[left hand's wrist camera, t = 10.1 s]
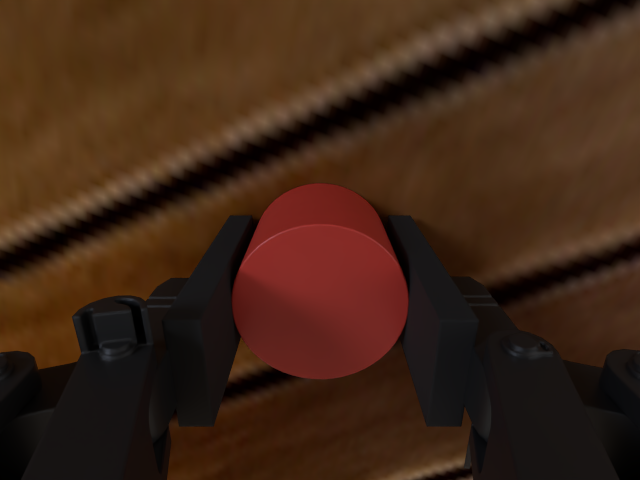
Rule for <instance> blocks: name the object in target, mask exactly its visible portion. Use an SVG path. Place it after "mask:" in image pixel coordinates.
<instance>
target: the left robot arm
mask: <svg viewBox="0 0 640 480" xmlns="http://www.w3.org/2000/svg"><path fill="white" fill-rule="evenodd" d="M387 236H388V238H389V240H390V243H391V245H392V247H393V250H394V252H395V255H396V257H397V259H398V262H399V264H400V266H401V269H402V271H403V273H404V276H405V279H406V282H407V286H408V291H409V306H408V316H407V320H406V324H405V326H404V328H403V331H402V333H401V335H400V336H399V337H400V340H401V344H402V347H403V350H404V353H405V357H406V360H407V363H408V366H409V370H410V373H411V376H412V380H413V383H414V386H415V389H416V393H417V396H418V399H419V402H420V406H421V409H422V412H423V415H424V419H425V422H426V425H427V426H461V425H462V419H463V413H464V407H465V408H466V410H467V412H468V414H469V417H470V419H471V421H472V425H471V431H470V436H469V442H468V448H467V453H466V459H465V465H464V468H467V469H470V464H472V473H473V480H640V351H638V350H637V351H636V350H627V349H622V350H615V351H612V352H611V353H609V354H608V355H607V356H606V359H605V363H604V366H603V368H600V367H595V366H590V365H585V364H579V363H574V362H570V361H566V360H562V359H561V357H560V355H559V353H558V352H557V350H556V349H555V348H554V347H553V345H552V344H550V343H549V342H547V341H546V340H544V339H543V338H541V337H539V336H536V335H534V334H531V333H529V332H524V331H520V330H518V329H517V327H516V326H515V325H514V324H513V322H512V321H511V320H510V318H509V317H508V316H507V315H506V313H505V312H504V311H503V310H502V308H501V307H500V306H498V303H497V302H496V301H495V299H494V298H492V297H491V294H490V293H489V292H488V291H487V289H486V288H485V287H484V285H482V284H480V283H479V282H477V281H475V280H474V279H472V278H471V277H450V275H449V274H448V272H447V271H446V269H445V268H444V266H443V265H442V263H441V262H440V260H439V259H438V257H437V256H436V254H435V253H434V251H433V250H432V248H431V246H430V245H429V243H428V242H427V240H426V239H425V237H424V236H423V234H422V233H421V231H420V230H419V228H418V227H417V225H416V224H415V222H414V221H413V219H412V217H411V216H388V229H387ZM252 237H253V223H252V216H230V217H229V218H228V220H227V221H226V223H225V224H224V226H223V227H222V229H221V230H220V232H219V233H218V235H217V236H216V238H215V239H214V241H213V243H212V244H211V246H210V247H209V249H208V250H207V252H206V253H205V255H204V256H203V258H202V259H201V261H200V262H199V264H198V265H197V267H196V268H195V270H194V272H193V273H192V275H191V276H190V278H171V279H169V280H167V281H166V282H164V283H162V284H161V285H159V286H158V287H157V288H156V289H155V290H154V291H153V293H152V294H151V295H150V297H149V299H147V300H146V301H144V300H143V299H142V298H140V297H135V296H114V297H109V298H104V299H101V300H98V301H95V302H92V303H90V304H88V305H86V306H85V307H83V308H81V309H79V310H78V311H77V312H76V313H75V314H74V315H73V316H72V319H73V323H74V326H75V330H76V334H77V338H78V342H79V346H80V349H81V356H80V358H79V360H78V362H74V363H70V364H65V365H60V366H55V367H50V368H45V369H39V370H38V367H37V364H36V361H35V358H34V357H33V356H32V355H31V354H29V353H28V352H21V351H12V352H2V353H0V480H167V474H168V465H169V456H170V448H171V437H170V431H169V425H168V424H169V422H170V420H171V417H172V415H173V413H174V411H175V408H176V410H177V416H178V422H179V426H214V423H215V420H216V417H217V413H218V410H219V407H220V404H221V400H222V397H223V394H224V391H225V387H226V384H227V381H228V377H229V374H230V371H231V368H232V364H233V361H234V358H235V355H236V351H237V348H238V345H239V341H240V338H241V335H240V334H239V332H238V330H237V327H236V325H235V322H234V318H233V312H232V300H231V296H232V288H233V284H234V280H235V277H236V275H237V272H238V270H239V268H240V265H241V263H242V261H243V258H244V256H245V254H246V251H247V249H248V247H249V244H250V242H251V239H252Z"/></svg>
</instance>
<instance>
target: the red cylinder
mask: <svg viewBox="0 0 640 480" xmlns="http://www.w3.org/2000/svg"><path fill="white" fill-rule="evenodd" d="M231 300H232V312H233V318H234V322H235V325H236V327H237V330H238V332H239V334H240V335H241V337H242V339H243V341H244V342H245V343H246V345H247V346H248V347H249V348H250V349H251V351H252V352H253V353H254V354H255V355H256V356H258V357H259V358H260V359H261V360H263V361H264V362H265V363H267V364H269V365H270V366H272V367H274V368H276V369H278V370H280V371H282V372H285V373H287V374H290V375H294V376H298V377H302V378H310V379H330V378H338V377H343V376H347V375H350V374H353V373H356V372H358V371H361V370H363V369H365V368H367V367H369V366H370V365H372V364H374V363H375V362H377V361H378V360H379V359H380V358H382V357H383V356H384V355H385V354H386V353H387V352H388V351H389V350H390V349H391V348H392V347H393V345H394V344H395V343H396V341H397V340H398V338H399V336H400V335H401V333H402V331H403V328H404V326H405V324H406V320H407V316H408V306H409V291H408V286H407V282H406V279H405V276H404V273H403V271H402V269H401V266H400V264H399V262H398V259H397V257H396V255H395V252H394V250H393V247H392V245H391V243H390V240H389V238H388V236H387V233H386V231H385V229H384V226H383V224H382V222H381V220H380V218H379V216H378V214H377V213H376V211H375V210H374V208H373V207H372V206H371V205H370V204H369V203H368V202H367V201H366V200H365V199H364V198H362V197H361V196H360V195H358V194H356V193H355V192H353V191H351V190H349V189H347V188H344V187H341V186H337V185H333V184H323V183H316V184H307V185H303V186H299V187H297V188H294V189H291V190H289V191H288V192H286V193H284V194H282V195H281V196H280V197H278V198H277V199H276V200H275V201H273V202H272V203H271V204H270V205H269V207H268V208H267V209H266V210H265V212H264V213H263V215H262V217H261V219H260V221H259V223H258V225H257V228H256V230H255V232H254V235H253V237H252V239H251V242H250V244H249V247H248V249H247V251H246V254H245V256H244V258H243V261H242V263H241V265H240V268H239V270H238V272H237V275H236V277H235V280H234V284H233V288H232V296H231Z"/></svg>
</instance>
